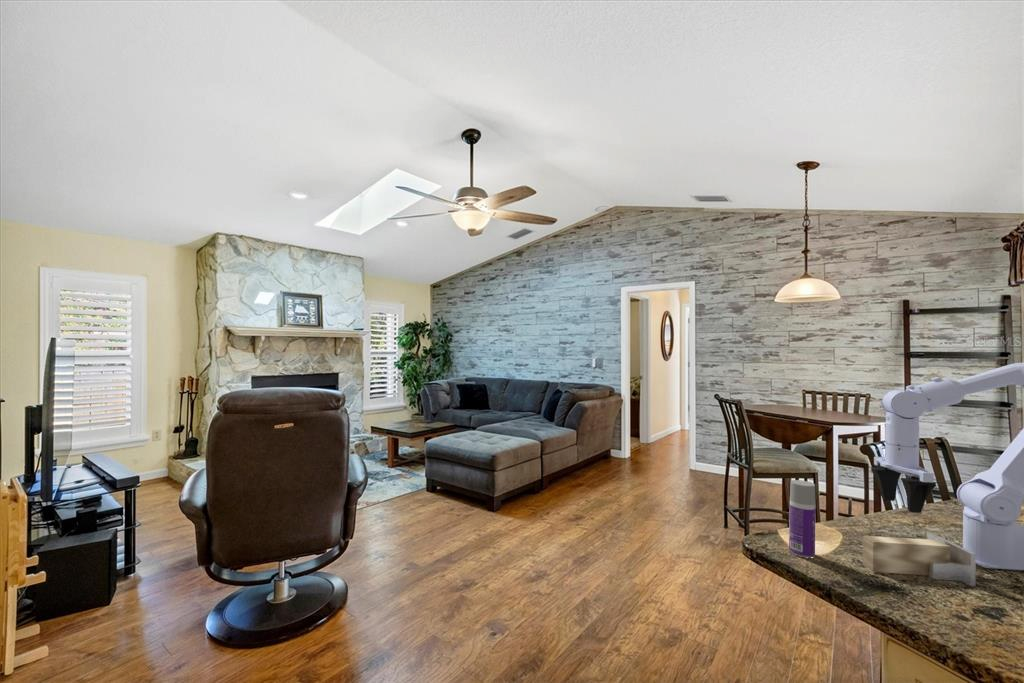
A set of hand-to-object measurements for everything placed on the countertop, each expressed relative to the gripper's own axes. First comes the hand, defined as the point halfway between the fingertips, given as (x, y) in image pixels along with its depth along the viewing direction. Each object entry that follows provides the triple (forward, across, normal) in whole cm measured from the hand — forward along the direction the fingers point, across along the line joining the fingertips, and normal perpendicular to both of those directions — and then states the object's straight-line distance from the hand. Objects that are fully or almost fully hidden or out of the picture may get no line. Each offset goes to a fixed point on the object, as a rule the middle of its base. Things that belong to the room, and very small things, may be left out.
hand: (901, 505), depth 101 cm
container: (+10, +6, -24) cm, 27 cm away
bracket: (+9, +11, -2) cm, 15 cm away
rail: (+10, +11, -7) cm, 16 cm away
